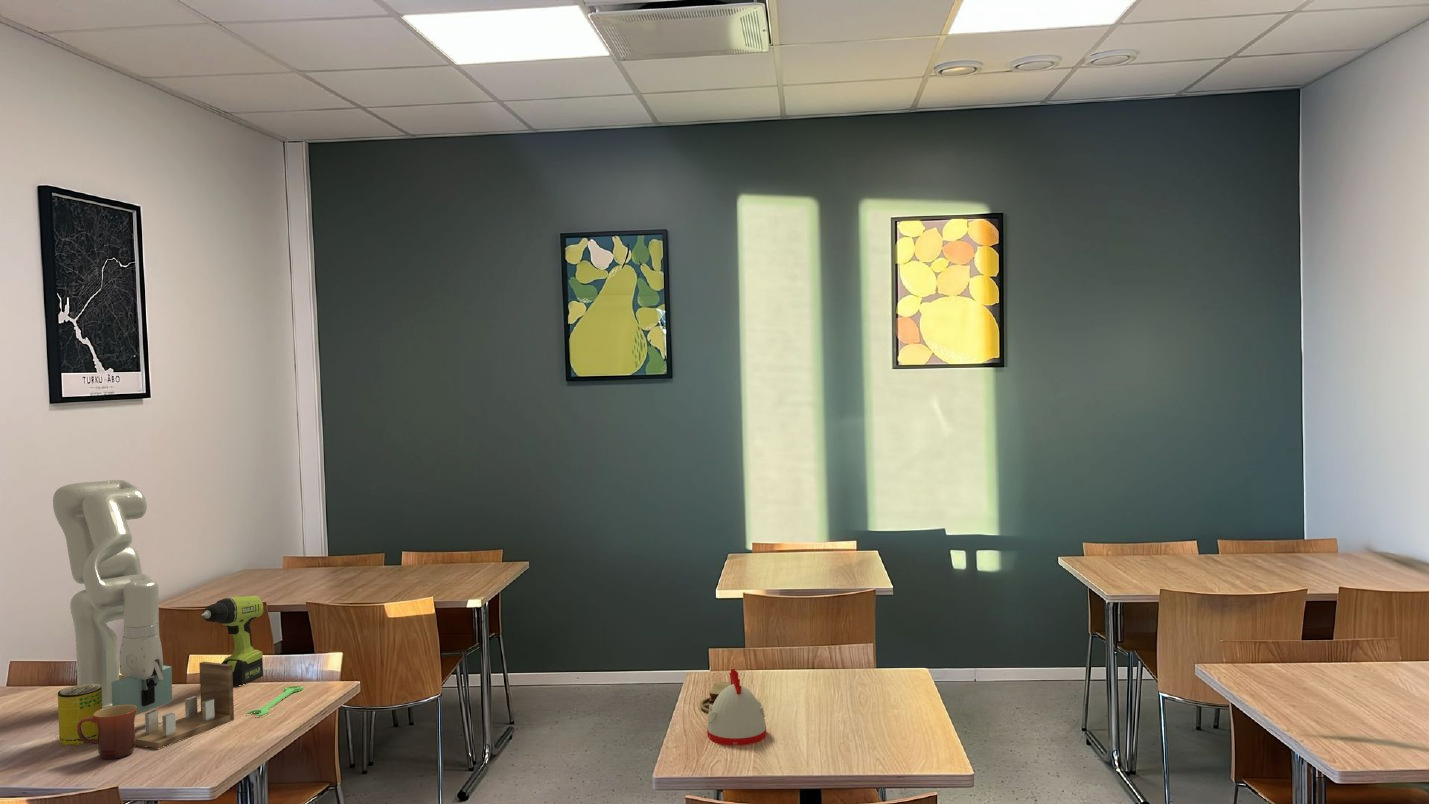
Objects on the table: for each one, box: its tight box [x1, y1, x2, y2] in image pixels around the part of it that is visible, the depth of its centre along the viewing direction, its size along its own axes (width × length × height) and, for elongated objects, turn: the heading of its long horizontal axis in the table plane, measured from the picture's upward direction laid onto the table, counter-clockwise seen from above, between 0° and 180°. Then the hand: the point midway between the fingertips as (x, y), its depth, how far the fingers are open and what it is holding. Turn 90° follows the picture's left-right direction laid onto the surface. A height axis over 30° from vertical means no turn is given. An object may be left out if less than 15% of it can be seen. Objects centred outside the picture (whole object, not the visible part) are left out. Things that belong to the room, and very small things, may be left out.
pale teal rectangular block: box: [112, 664, 173, 716], centre depth 244 cm, size 14×3×9 cm, turn 158°
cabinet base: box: [135, 661, 235, 749], centre depth 241 cm, size 21×10×14 cm, turn 158°
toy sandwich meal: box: [699, 681, 731, 713], centre depth 251 cm, size 12×14×5 cm
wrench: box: [246, 685, 305, 716], centre depth 262 cm, size 25×2×5 cm
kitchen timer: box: [706, 668, 767, 746], centre depth 231 cm, size 14×14×15 cm
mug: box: [77, 705, 138, 760], centre depth 226 cm, size 12×9×10 cm
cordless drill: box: [200, 595, 264, 687], centre depth 278 cm, size 23×7×25 cm, turn 170°
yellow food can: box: [57, 684, 102, 746], centre depth 238 cm, size 9×9×12 cm
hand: (142, 702), depth 244 cm, fingers closed on pale teal rectangular block, 3 cm apart
